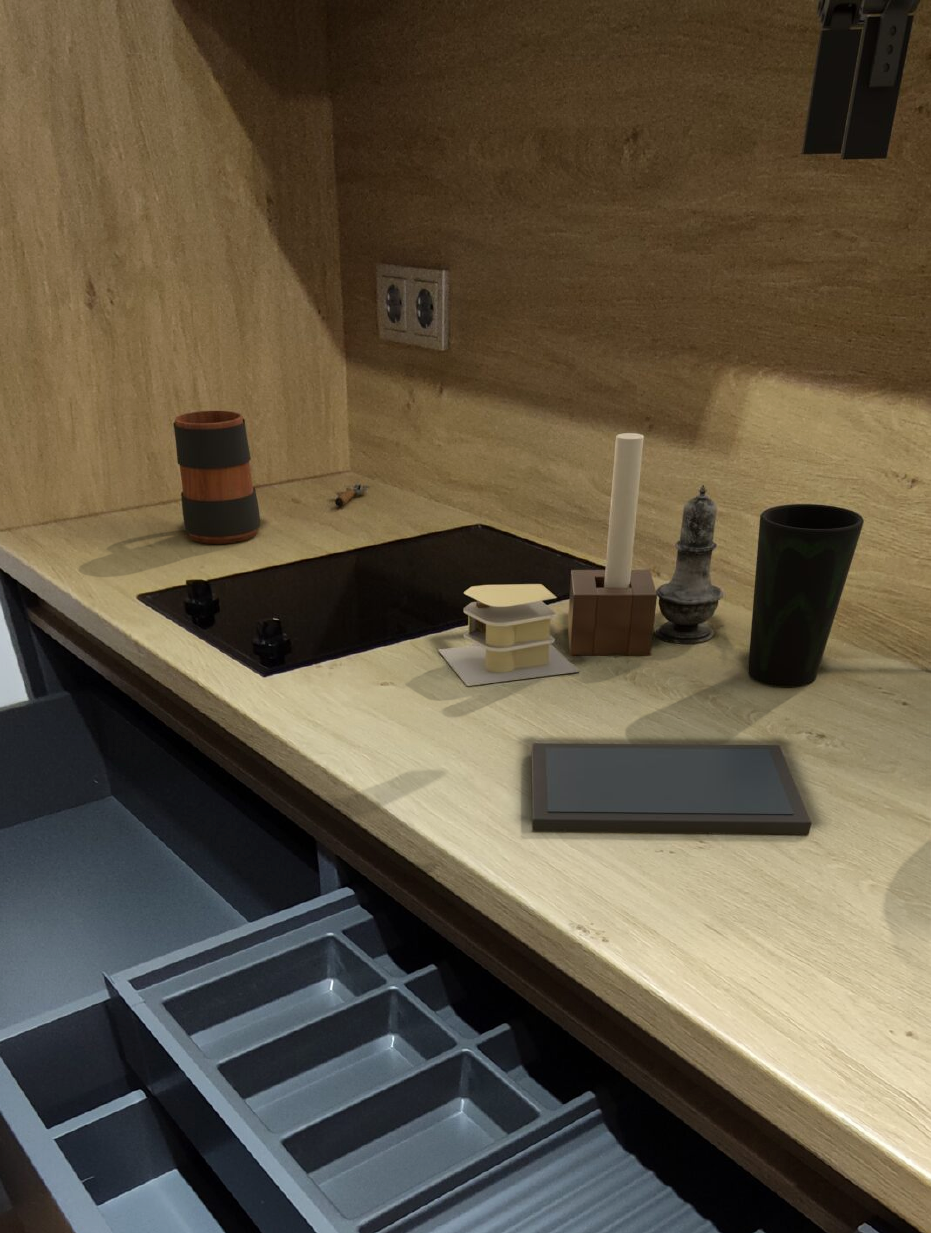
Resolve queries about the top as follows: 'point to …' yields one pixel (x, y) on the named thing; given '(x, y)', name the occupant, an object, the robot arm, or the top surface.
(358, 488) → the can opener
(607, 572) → the stylus
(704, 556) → the salt shaker
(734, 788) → the tablet
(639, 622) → the holder
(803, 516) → the cup
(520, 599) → the stacked layers on plate
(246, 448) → the mug
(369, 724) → the top surface
